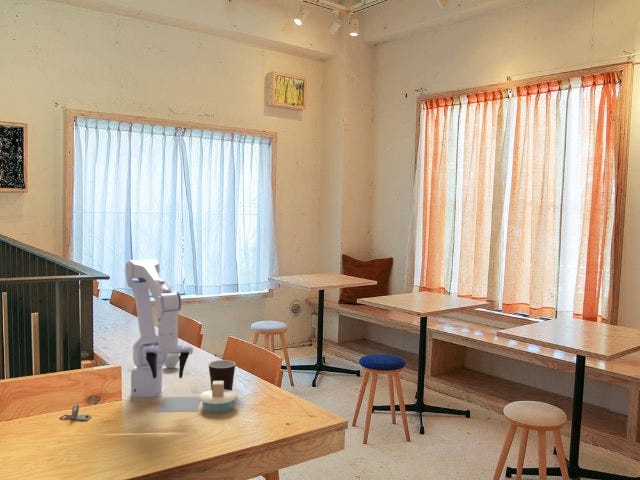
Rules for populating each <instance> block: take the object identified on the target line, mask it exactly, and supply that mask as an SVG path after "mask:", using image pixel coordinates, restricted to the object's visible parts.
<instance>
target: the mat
mask: <svg viewBox="0 0 640 480" xmlns="http://www.w3.org/2000/svg"><path fill="white" fill-rule="evenodd" d="M200 403H201V400H200V396H163V397H162V399H161V401H160V402H159V405H158V407H157V409H156V410H155V412H156V413H169V412H170V413H176V412H179V413H181V412H189V413H190V412H192V413H193V412H198V409H199V406H200Z"/></svg>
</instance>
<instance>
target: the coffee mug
mask: <svg viewBox="0 0 640 480" xmlns="http://www.w3.org/2000/svg"><path fill="white" fill-rule="evenodd" d="M235 370H236V362H235V361H232V360H228V359H227V360H226V359H219V360H213V361H211V362H209V363H208V371H209V379H210V390H212V384H213V381H224V389H226V390H231V391H233V386H234V380H235V379H234V377H235Z"/></svg>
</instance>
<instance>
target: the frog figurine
mask: <svg viewBox="0 0 640 480" xmlns="http://www.w3.org/2000/svg"><path fill="white" fill-rule="evenodd" d="M179 356H180V354H168V358H167V361H166V363H164V366H165V367H166V368H167V369H174V368H175V367H176V366H177V365H178V363H179Z"/></svg>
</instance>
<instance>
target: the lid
mask: <svg viewBox="0 0 640 480" xmlns="http://www.w3.org/2000/svg"><path fill="white" fill-rule="evenodd" d="M199 397H200V402H202V403H203V402H205V403H209V404H223V403H228V402H231V401H233V402H234V401H235V400H236V398H237V393H236V392H235V391H233V390H232V391H231V390H226V389H224V381H213V384H212V390H211V389H209V390H205V391H204V392H201V393H200V394H199Z"/></svg>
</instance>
